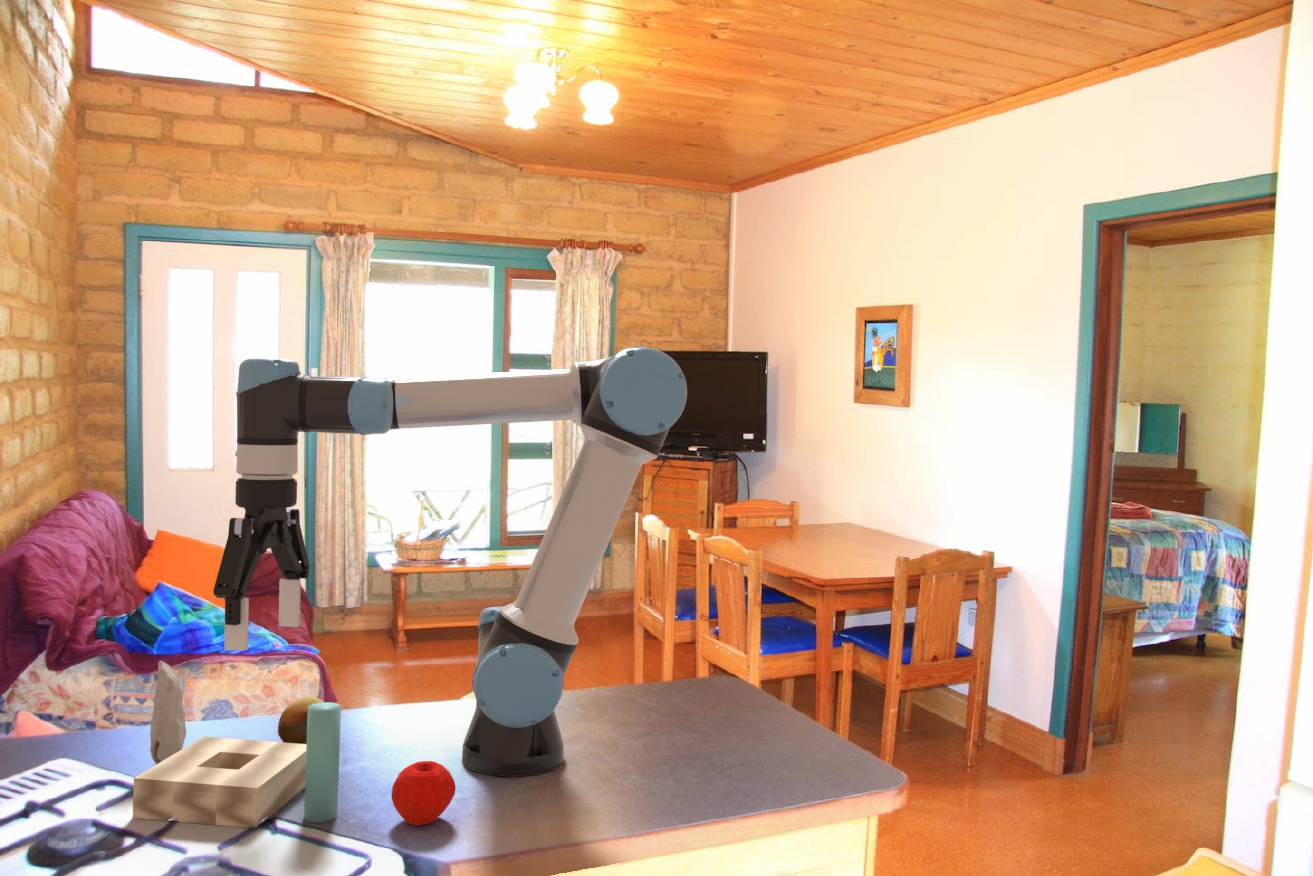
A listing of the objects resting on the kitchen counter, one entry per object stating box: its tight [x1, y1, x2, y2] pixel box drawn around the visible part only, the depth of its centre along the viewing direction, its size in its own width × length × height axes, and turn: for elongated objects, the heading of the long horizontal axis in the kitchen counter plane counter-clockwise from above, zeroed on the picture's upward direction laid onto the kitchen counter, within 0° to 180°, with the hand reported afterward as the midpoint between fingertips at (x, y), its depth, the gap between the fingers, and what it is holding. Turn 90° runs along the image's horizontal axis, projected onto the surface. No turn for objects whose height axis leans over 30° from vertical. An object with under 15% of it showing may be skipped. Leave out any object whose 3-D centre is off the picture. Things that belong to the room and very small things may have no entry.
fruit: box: [277, 696, 324, 744], centre depth 149 cm, size 8×8×8 cm
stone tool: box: [149, 660, 187, 765], centre depth 140 cm, size 9×3×15 cm, turn 8°
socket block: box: [132, 736, 307, 829], centre depth 130 cm, size 16×16×5 cm
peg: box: [303, 701, 342, 824], centre depth 126 cm, size 4×4×14 cm
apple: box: [391, 760, 457, 826], centre depth 126 cm, size 8×8×7 cm
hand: (264, 637), depth 130 cm, fingers open, 13 cm apart
